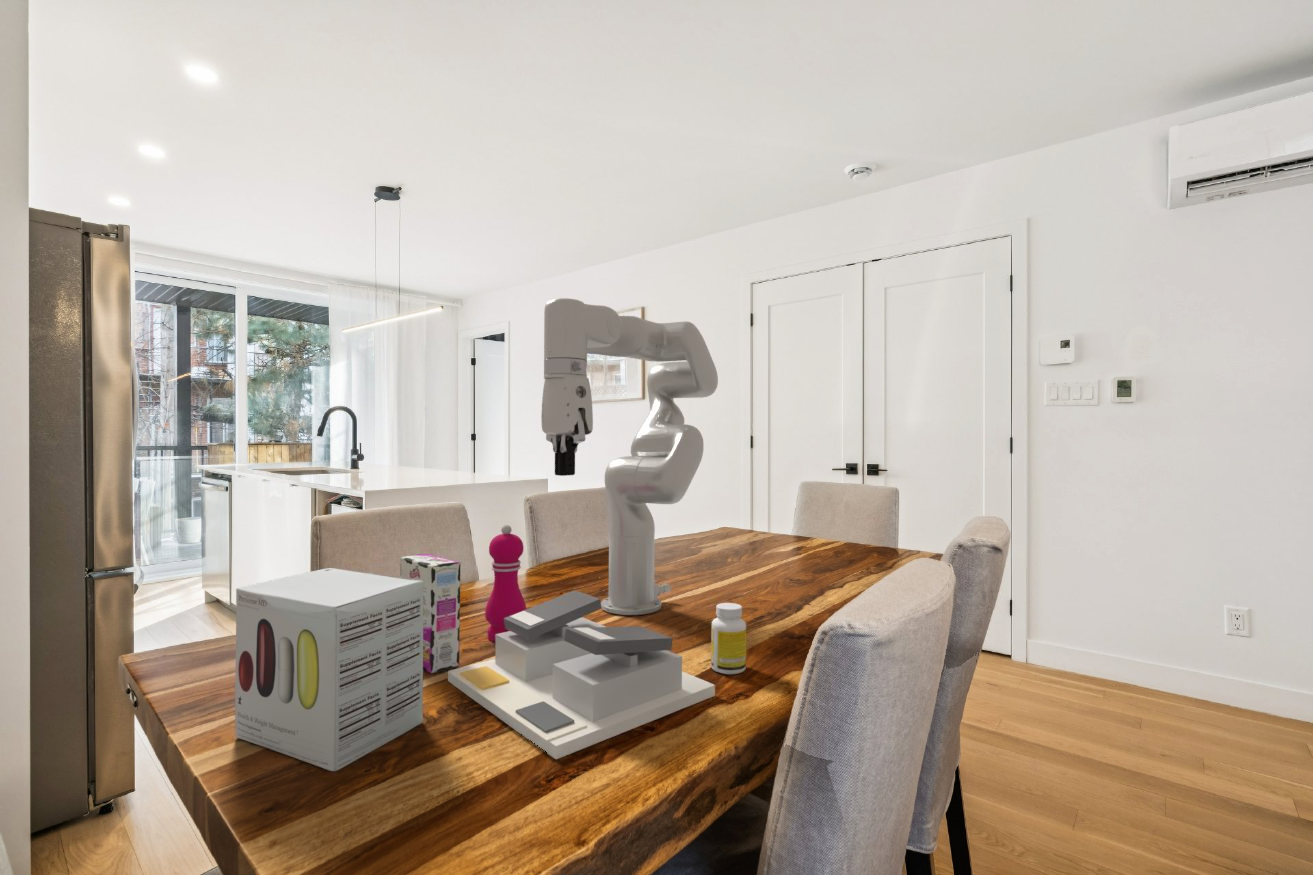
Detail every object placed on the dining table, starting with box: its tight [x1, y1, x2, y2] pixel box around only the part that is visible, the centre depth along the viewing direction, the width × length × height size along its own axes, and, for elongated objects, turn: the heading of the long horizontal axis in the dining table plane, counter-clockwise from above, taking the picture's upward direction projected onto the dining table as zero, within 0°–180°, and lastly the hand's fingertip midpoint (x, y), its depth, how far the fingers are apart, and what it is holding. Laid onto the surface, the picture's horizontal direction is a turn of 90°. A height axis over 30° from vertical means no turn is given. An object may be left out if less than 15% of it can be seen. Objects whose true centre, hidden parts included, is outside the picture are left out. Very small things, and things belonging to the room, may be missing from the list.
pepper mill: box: [484, 524, 527, 643], centre depth 111 cm, size 7×7×20 cm
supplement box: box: [234, 567, 424, 772], centre depth 76 cm, size 17×13×18 cm
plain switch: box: [564, 625, 674, 655], centre depth 84 cm, size 13×7×2 cm, turn 132°
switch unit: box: [447, 617, 716, 760], centre depth 89 cm, size 26×29×8 cm
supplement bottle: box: [710, 602, 747, 675], centre depth 97 cm, size 5×5×10 cm
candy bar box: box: [399, 553, 461, 675], centre depth 99 cm, size 11×5×16 cm, turn 47°
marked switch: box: [504, 589, 603, 640], centre depth 96 cm, size 13×7×2 cm, turn 132°
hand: (564, 474), depth 110 cm, fingers closed
